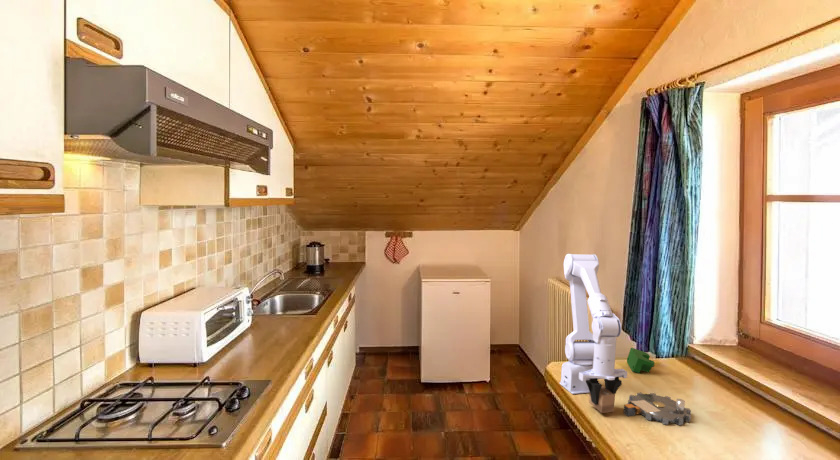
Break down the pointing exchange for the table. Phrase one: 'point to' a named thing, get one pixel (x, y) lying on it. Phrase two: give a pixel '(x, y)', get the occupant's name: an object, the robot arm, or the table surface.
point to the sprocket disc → (660, 408)
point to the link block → (604, 401)
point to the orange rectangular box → (629, 410)
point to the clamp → (639, 361)
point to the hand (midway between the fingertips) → (601, 402)
